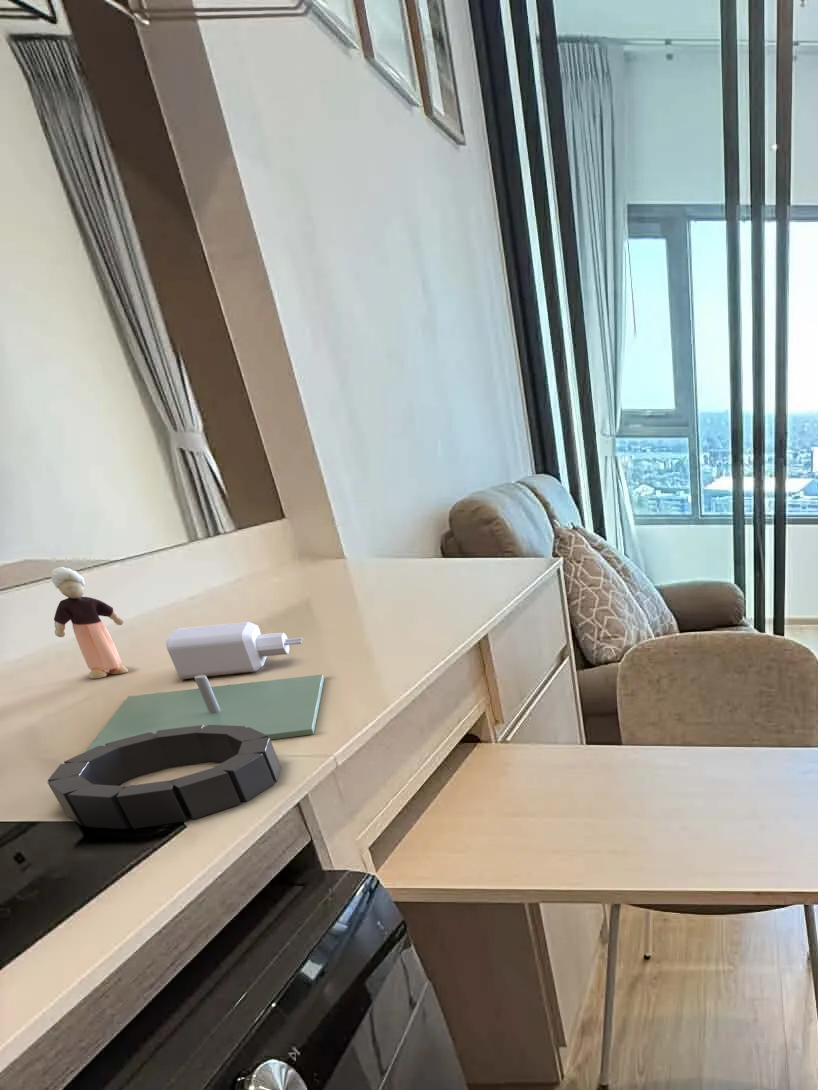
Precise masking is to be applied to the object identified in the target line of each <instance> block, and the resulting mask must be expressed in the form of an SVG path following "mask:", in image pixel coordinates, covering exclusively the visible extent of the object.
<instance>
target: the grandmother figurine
mask: <svg viewBox="0 0 818 1090" xmlns="http://www.w3.org/2000/svg"><path fill="white" fill-rule="evenodd" d="M50 577H51V582H52V584H53V585H54V586H55V589H58V590H59V591H60V593H61V594H62V595H63V596H65V597H67V598H64V599H61V600H60V601H59V603H58V605H57V607H56V610H55V613H54V617H53V622H54V629H55V630H54V635H55V636H56V637H58V638H64V637H65V636H66V632H65V630H66V624H67V623H68V622H71V626H72V630H73V633H74V636H75V639H76V642H77V644H78V647H79V650H80V652H81V654H82V655H81V656H82V657H83V659H84V662H85V663H86V665H87V668H88V669H89V670H90V672H89V675H88V676H89V679H92V680H93V679H94V680H95V679H101V678H105V677H107V676H108V674H107V672H106V671H108V672H109V673H110V674H111V675H120V674H121V675H122V674H125V673H129V669H128V668H127V667H125V666H124V665H122V663H123V662H122V660H121V657H120V655H119V652H118V650H117V647H116V645H115V643H114V641H113V639H112V637H111V635H110V633H109V631H108V628H107V627H106V625H105V623H104V621H102V620H101V618H100V617H107V618H109V619H110V620H112V621H113V622H114V624H115V625H117V626H122V625H123V624H124V619H123V617H121V616H119V615H118V613H117V612H116V611H115V610H114V608H113V606H111V605H110V604H107V602H105V601H103V600H100V599H97V598H94V597H90V596H83V595H84V594H85V587H86V582H85V579H84V577H83V576H82V575H80V574H79V573H78V571H76V570H72V569H71V568H70V567H64V566H59V567H56V568H53V570H52V571H51V575H50Z"/></svg>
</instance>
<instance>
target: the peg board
mask: <svg viewBox="0 0 818 1090" xmlns="http://www.w3.org/2000/svg"><path fill="white" fill-rule="evenodd" d="M193 679H194V680H195V683H196V685H197V688H189V689H181V690H171V691H164V692H163V691H162V692H154V693H146V694H145V693H143V694H137V695H128V696H127V698H126V699H125V700H124V701H123V702H122V704H121V705H120V707H119V708H117V710H116V712H114V714H113V715H112V716H111V718H110V719H109V720H108V721H107V723H106V725H105V726H103V728H102V729H101V731H100V732H99V733H98V735H97V736H96V737H95V739H93V741H92V742H91V744H90V745H89V746H88V747H87V748H86V750H85V751H84V752H86V751H88V750H91V749H93V748H95V747H97V746H106V745H105V744H106V743H110V742H114V741H117V740H121V739H125V738H129V737H133V736H137V735H140V734H144V733H148V732H152V733H154V734H156V732H157V731H158V730H166V729H174V728H182V727H190V726H198V725H203V726H204V727H205V726H207V725H228V726H245V727H246V728H247V727H250V728H252V729H255V730H257V731H259V732H261V733H263V734H266V735H268V737H269V738H270V740H271V741H272V740H279V739H287V738H295V737H302V736H303V737H304V736H311V735H314V734H315V729H316V723H317V719H318V714H319V709H320V703H321V697H322V693H323V687H324V681H325V678H324V675H323V674H314V675H306V676H297V677H287V678H279V679H269V680H262V681H253V682H251V681H250V682H243V683H235V684H226V685H216V686H211V684H210V681H209V679H208V677H206V675H198V676H195V677H194V678H193Z"/></svg>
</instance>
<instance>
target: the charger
mask: <svg viewBox="0 0 818 1090" xmlns="http://www.w3.org/2000/svg"><path fill="white" fill-rule="evenodd" d="M303 641H304V637H293V638H288V636H287V634H286V633H285V632H284V631H283V632H272V633H271V632H270V633H261V630H260V628H259V625H258V624H255V623H253V622H250V621H243V622H232V623H221V624H220V623H219V624H210V625H198V626H189V627H179V628H178V627H177V628H175V629H174V630H173V631H172V632H171V634H170V635H169V636H168V638H167V639H166V640H165V646H166V650H167V653H168V654H169V657H170V659H171V662H172V664H173V666H174V668H175V671H176V672H177V673H176V674H177V675H178V677H179V678H180V679H181V680H188V679H195V678H194V677H195V676H198V675H206V677H207V678H208V677H215V676H226V675H236V674H244V673H253V672H257V671H259V670H260V669H262V667H264V666H265V663H266V659H267V658H268V657H274V656H283V655H289V652H290V646H293V645H294V646H295V645H302V644H303Z"/></svg>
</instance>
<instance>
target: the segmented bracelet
mask: <svg viewBox="0 0 818 1090" xmlns="http://www.w3.org/2000/svg"><path fill="white" fill-rule="evenodd" d="M105 745H106V746H97V747H95V748H93V749H91V750H88V751H86V750H85V751H86V752H85V751H84V752H81V753H80V754H78V755H75V756H73V757H71V758H69V759H67V760H64V761H63V763H60V764H59V765H58V766H57V768H56V769H55V771H54V772H53V773H52V774H51V775H50V777H49V778H48V779H47V784H48V786H49V788H50V790H51V792H52V793H53V795H54V797H55V798H56V800H57V802H58V804H59V805H60V807H61V809H62V811H63V812H64V814H65V815H66V816H67V817H68V818H70V819H72V820H73V821H74V822H76V823H77V824H78V825H80V827H81V826H82V827H83V826H84V827H86V828H97V829H112V830H113V829H115V830H129V829H130V828H132V829H133V830H137V829H144V828H151V827H157V826H163V825H170V824H171V825H172V824H178V823H185V822H187V821H188V819H189V818H190V819H192V820H198V819H200V818H203V817H206V816H209V815H213V814H215V813H218V812H222V811H224V810H228V809H231V808H234V807H237V806H239V805H242V803H241V802H245V803H246V802H248V801H250V800H251V799H253V798H254V797H257V796H258V795H259V794H261V793H262V792H264V791H266V790H267V789H269V788H271V787H272V786H273V785H275V783H276V782H278V778H279V775H280V771H281V768H282V767H281V763H280V761H279V758H278V756H277V753H276V750H275V748H274V745H273V744H272V740H270V738H269V737H268V735H266V734H263V733H261V732H259V731H257V730H255V729H252V728H250V727H247V728H246V727H245V726H228V725H207V726H205V727H204V726H203V725H198V726H190V727H182V728H174V729H166V730H158V731H157V732H156V734H154V733H152V732H148V733H144V734H140V735H137V736H133V737H129V738H125V739H121V740H117V741H114V742H110V743H106V744H105ZM202 763H219V764H217V765H216V766H213V767H211V768H208V769H204V770H201V771H198V772H193V773H191V774H187V775H184V776H180V777H177V778H174V779H170V780H162V781H155V782H146V783H139V784H134V785H133V784H132V785H122V784H123V783H125V782H127V781H129V780H131V779H133V778H135V777H139V776H143V775H147V774H150V773H153V772H157V771H160V770H164V769H168V768H171V767H180V766H187V765H194V764H202Z"/></svg>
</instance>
